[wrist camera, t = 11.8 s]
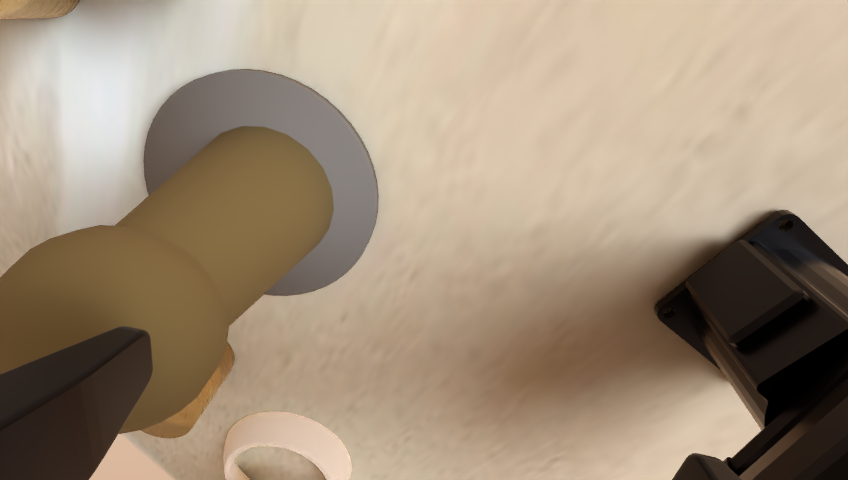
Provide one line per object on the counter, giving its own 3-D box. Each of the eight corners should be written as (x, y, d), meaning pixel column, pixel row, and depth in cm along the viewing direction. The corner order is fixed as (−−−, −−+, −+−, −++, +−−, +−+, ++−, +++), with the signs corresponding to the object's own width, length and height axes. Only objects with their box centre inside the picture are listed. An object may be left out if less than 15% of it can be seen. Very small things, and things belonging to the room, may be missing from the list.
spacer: (246, 351, 25) (207, 409, 21) (215, 389, 26) (174, 449, 23) (185, 312, 24) (134, 365, 21) (157, 353, 26) (105, 410, 22)
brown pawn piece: (360, 229, 20) (251, 436, 11) (249, 278, 22) (67, 497, 12) (281, 98, 18) (53, 205, 8) (165, 164, 20) (-137, 317, 10)
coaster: (425, 177, 20) (424, 182, 19) (301, 324, 24) (297, 331, 23) (215, 11, 18) (207, 11, 17) (118, 202, 22) (109, 207, 21)
